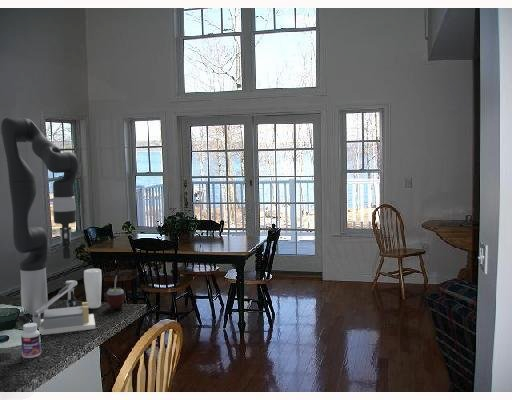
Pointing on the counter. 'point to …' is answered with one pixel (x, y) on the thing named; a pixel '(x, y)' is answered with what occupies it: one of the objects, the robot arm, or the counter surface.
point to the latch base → (65, 320)
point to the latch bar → (55, 298)
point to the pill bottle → (30, 341)
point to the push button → (70, 294)
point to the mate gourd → (115, 297)
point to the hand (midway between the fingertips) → (66, 257)
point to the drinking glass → (93, 287)
